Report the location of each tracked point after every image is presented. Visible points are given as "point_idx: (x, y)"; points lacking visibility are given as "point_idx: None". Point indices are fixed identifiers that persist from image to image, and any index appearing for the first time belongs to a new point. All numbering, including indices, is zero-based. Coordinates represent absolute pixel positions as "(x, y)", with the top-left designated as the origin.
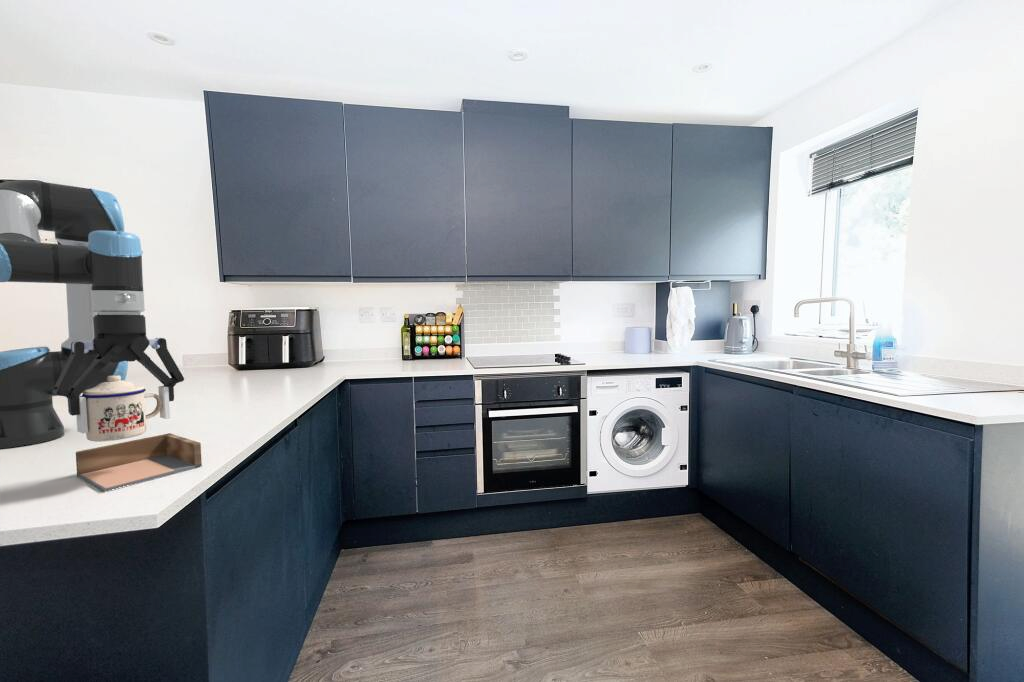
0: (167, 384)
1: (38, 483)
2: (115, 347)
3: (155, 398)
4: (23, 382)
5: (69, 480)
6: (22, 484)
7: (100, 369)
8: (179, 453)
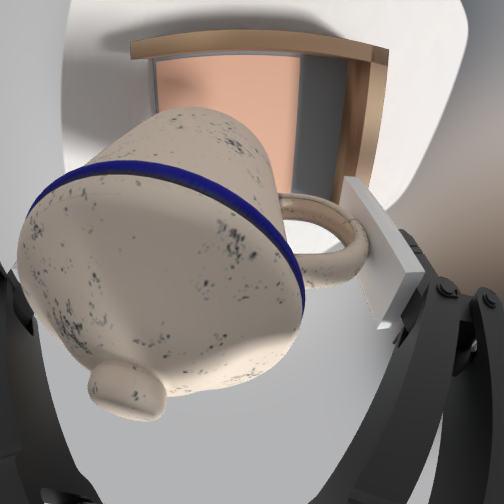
0: (398, 337)
1: (99, 38)
2: None
3: (352, 242)
4: None
5: (139, 61)
6: (81, 25)
7: (66, 452)
8: (345, 140)
